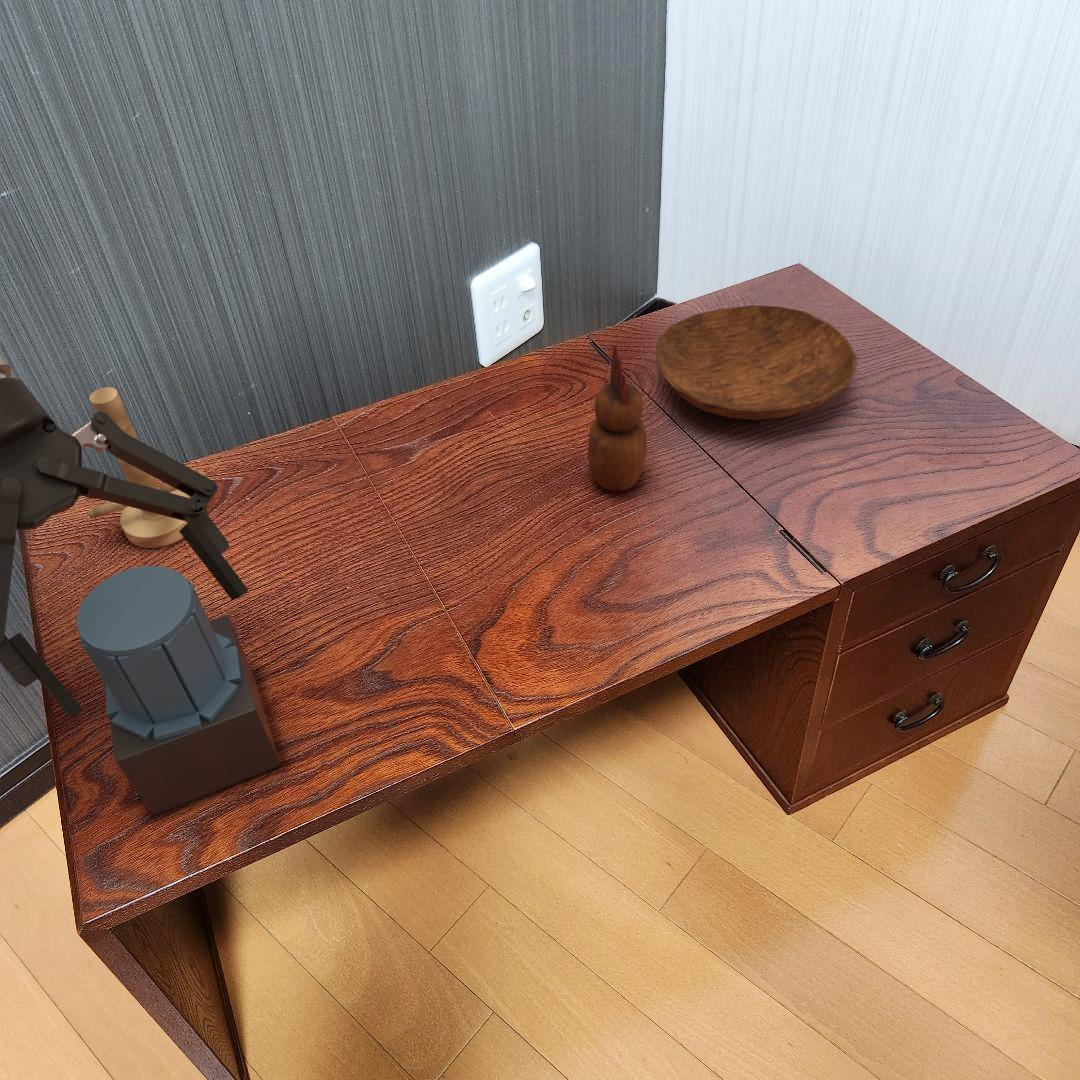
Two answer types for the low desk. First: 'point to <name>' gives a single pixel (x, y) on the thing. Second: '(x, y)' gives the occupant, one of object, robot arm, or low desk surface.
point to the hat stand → (135, 522)
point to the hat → (157, 653)
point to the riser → (201, 747)
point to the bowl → (755, 361)
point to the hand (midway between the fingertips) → (163, 651)
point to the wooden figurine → (617, 433)
